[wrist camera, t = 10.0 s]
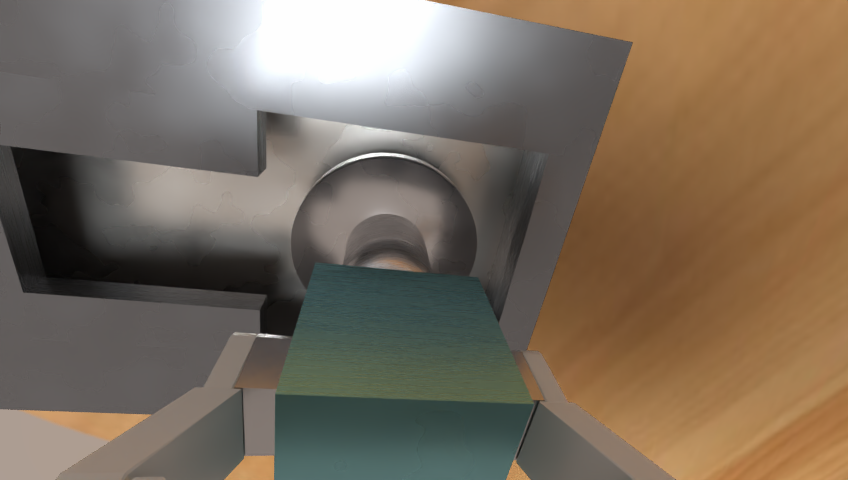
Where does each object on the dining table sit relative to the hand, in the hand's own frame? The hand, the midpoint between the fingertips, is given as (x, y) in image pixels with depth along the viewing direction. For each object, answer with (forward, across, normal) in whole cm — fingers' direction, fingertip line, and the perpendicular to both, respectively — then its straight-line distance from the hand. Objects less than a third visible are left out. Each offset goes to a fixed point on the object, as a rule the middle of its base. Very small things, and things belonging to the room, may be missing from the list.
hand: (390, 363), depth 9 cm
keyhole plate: (+10, +5, 0) cm, 11 cm away
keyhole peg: (+7, 0, 0) cm, 7 cm away
